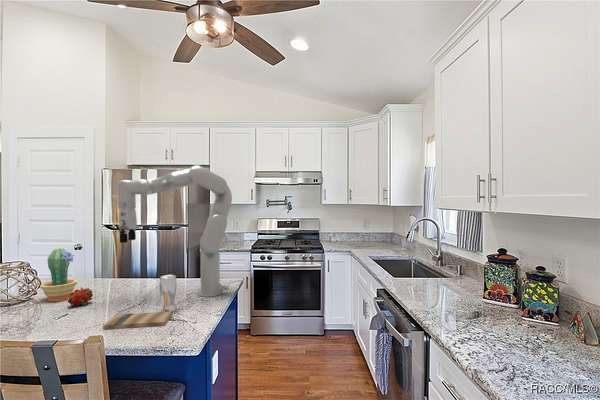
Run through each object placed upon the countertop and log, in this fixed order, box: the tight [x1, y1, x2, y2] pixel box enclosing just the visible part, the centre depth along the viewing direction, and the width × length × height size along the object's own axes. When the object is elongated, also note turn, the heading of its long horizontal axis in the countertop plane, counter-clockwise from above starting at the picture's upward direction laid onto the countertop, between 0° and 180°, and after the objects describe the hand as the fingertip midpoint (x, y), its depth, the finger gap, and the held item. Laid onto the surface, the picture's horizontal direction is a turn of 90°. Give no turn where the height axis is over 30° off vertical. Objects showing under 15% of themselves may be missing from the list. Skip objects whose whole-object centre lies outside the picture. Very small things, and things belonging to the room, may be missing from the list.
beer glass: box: [159, 274, 178, 313], centre depth 143 cm, size 7×7×15 cm
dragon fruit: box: [67, 287, 94, 308], centre depth 152 cm, size 8×8×12 cm
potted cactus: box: [39, 247, 78, 303], centre depth 163 cm, size 15×15×25 cm
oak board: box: [102, 311, 173, 331], centre depth 130 cm, size 22×12×2 cm, turn 98°
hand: (128, 241), depth 157 cm, fingers open, 9 cm apart
